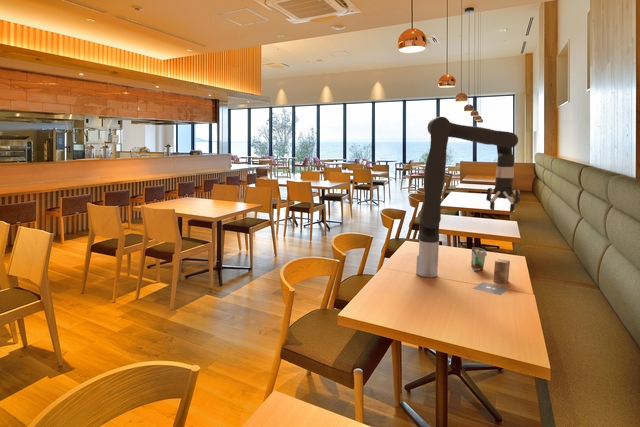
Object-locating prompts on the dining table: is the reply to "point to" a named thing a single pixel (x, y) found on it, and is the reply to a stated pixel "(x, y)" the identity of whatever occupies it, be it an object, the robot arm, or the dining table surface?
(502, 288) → the tile
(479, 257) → the food container
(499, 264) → the walnut block
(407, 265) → the dining table surface
